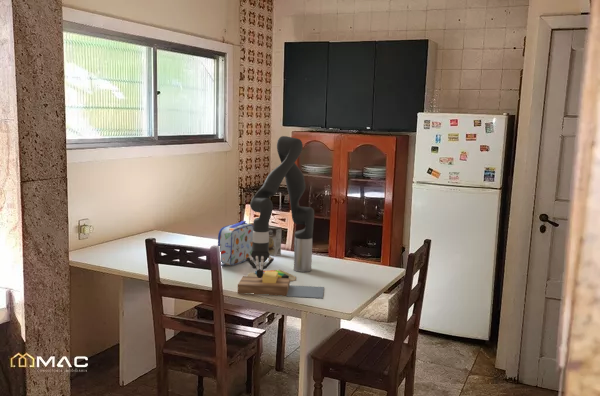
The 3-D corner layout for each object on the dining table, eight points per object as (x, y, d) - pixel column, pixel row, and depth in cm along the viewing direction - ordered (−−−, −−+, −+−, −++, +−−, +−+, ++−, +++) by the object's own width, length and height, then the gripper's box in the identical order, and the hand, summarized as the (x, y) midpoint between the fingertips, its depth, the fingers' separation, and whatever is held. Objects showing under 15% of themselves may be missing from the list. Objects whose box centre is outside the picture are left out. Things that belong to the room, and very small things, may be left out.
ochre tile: (265, 277, 259) (265, 270, 259) (277, 277, 259) (278, 271, 258) (262, 282, 250) (262, 276, 250) (275, 283, 250) (275, 276, 249)
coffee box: (262, 254, 320) (262, 226, 318) (268, 252, 326) (269, 225, 324) (275, 256, 316) (275, 228, 313) (281, 254, 321) (282, 227, 319)
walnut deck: (243, 284, 260) (243, 276, 260) (289, 286, 259) (289, 278, 258) (237, 293, 247) (237, 284, 246) (286, 295, 245) (286, 287, 245)
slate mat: (289, 286, 260) (289, 285, 260) (323, 287, 259) (323, 286, 259) (286, 296, 244) (286, 295, 244) (322, 298, 243) (322, 297, 243)
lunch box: (239, 255, 316) (240, 217, 313) (255, 257, 312) (256, 219, 309) (214, 266, 290) (215, 225, 287) (232, 269, 287) (232, 227, 284)
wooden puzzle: (297, 281, 270) (297, 274, 269) (263, 286, 260) (263, 279, 259) (279, 272, 284) (279, 266, 284) (246, 277, 274) (246, 270, 274)
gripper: (276, 239, 256) (275, 276, 258) (247, 238, 257) (247, 274, 259) (274, 243, 248) (273, 280, 251) (244, 241, 249) (244, 279, 252)
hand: (259, 277), depth 255 cm, fingers closed
